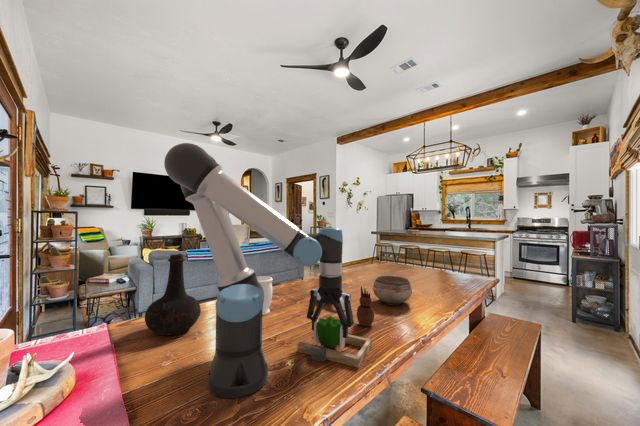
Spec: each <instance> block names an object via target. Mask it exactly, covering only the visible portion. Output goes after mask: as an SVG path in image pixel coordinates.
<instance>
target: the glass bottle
mask: <svg viewBox="0 0 640 426" xmlns="http://www.w3.org/2000/svg"><path fill="white" fill-rule="evenodd" d="M186 260H187V259H186V258H184V254H183V253H177V254H170V255H169V258H168V259H167V262H169V270H168V277H167V284H166V287H165V288H166V289H165V291H164V294H163V295H162V296H161V297H160V298H157V299H156V300H155V301H152V303H150V305H149V306H148V307H147V309H146V311H145V314H144V323H145V326H146V328H147V329H149V330H150V331H151V332H152V333H154V334H157V335H159V336H160V335H161V336H175V335H180V334H182V333H185V332H187V331H188V330H190V329H191V328H192V327H193V326H194V325H195V324H196V323H197V321H198V320H199V317H200V316H201V312H202V309H201V304H200V302H199V301H198V299H197V298H195V297H193V296H192V295H189V294H187V291H186V288H185V281H184V280H185V278H184V261H186Z"/></svg>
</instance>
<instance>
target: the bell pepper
mask: <svg viewBox="0 0 640 426" xmlns="http://www.w3.org/2000/svg"><path fill="white" fill-rule="evenodd" d="M318 320H319V321H318V324H317V335H318V339H319V340H318V342H319V343H320V346H322V347H326V348H328V349H335V348H337V347H338V345H339V344H340V342H339V341H340V327H341V326H342V324H341V322H340V319H339V318H335V317H334V316H333V315H331V314H330V315H329V316H328V317H326V318H318Z"/></svg>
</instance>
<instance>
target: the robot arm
mask: <svg viewBox="0 0 640 426" xmlns="http://www.w3.org/2000/svg"><path fill="white" fill-rule="evenodd" d="M163 162H164V163H163V165H164V166H163V167H164V169H165V171H166V173H167V174H166V175H168V177H169V179H171V180H172V181H173V182H174V183H176V184H178V185H179V186H180V189H181V191H182V194H183V197H184V199H185V201H187V202H189V203H190V204H192V205H193V207H194V210H195V213H196V216H197V218H198V221H199V224H200V226H201V229H202V232H203V235H204V238H205V240H206V243H207V245H208V248H209V251H210V253H211V254H210V255H211V256H212V259H213V262H214V265H215V267H216V270H217V273H218V276H219V280H218V283H217V288H218V291H219V292H218V294H217V296H216V301H215V350H214V351H215V353H214V356H213V359H212V362H211V366H210V369H209V370H208V372H207V373H208V374H207V378H206V379H207V380H206V382H207V383H206V387H207V390H208V389H209V390H208V391H209V392H210V393H211V394H212V395H213V394H214V396H215V395H216V396H215V397H218V396H219V398H222V397H223V399H237V398H243V397H247V396H249V395H251V394H253V393H256V392H258V391H259V390H260V389H262V388H263V387H264V386H265V385H266V383H267V381H268V378H269V367H268V364H267V361H266V359H265V358H266V357H265V355H264V351H263V347H262V346H263V344H262V343H263V341H262V340H263V315H262V313H263V302H264V291H263V288H262V286H261V285H260V283H259V282H258V280H257V277H256V276H257V274H256V272H255V270H254V269H253V268H250V267H249V266H248V265H247V261H246V258H245V255H244V254H243V250H242V248H241V245H240V242H239V240H238V237H237V236H238V235H237V234H236V231H235V228H234V225H233V223H232V220H231V217H230V215H229V214H231V215H232V216H233V217H235V218H237V219H238V220H239V221H241V222H242V223H243V224H245V225H246V226H248V227H249V228H250V229H252V230H253V231H255V232H256V233H257V234H259V235H260V236H262V237H263V238H264V239H266V240H268V241H269V242H271V243H272V244H273V245H275V246H276V247H278V248H279V249H280V250H282V255H283V256H284V257H285V258H292V259H294V260H295V261H296V263H297V264H299V265H301V266H303V267H312V266H314V265H316V264H317V263H319V266H318V267H319V269H318V273H319V276H318V289H316V288H315V287H314V288H313V289H311V290H310V291H309V294H310V297H309V298H310V299H309V303H308V308H307V314H306V319H308V320H309V319H310V321H311V330H312V331H313V343H317V342H319V339H318V335H317V324H318V321H319V318H320V317H319V316H320V314H321V312H322V310H323V308H324V306H325V304H330V305H332V306H333V308H334V309H335V311H336V315H337V316H338V319H340V322H341V324H342V326H341V327H340V342H339V349H341V350H342V349H343V348H344V347H345V346H346V343H345V338H346V337H347V336H348V334H349V328H352V326H354V324H355V322H354V316H353V310H352V303H351V298H352V295H351V293H345V292H343V290H342V288H343V276H342V274H343V246H344V245H343V244H344V239H343V230H342V228H340V227H327V226H326V227H321V228H320V229H319V233H318V232H317V233H307V232H305V231H304V230H302V229H301V228H299V227H298V226H297V225H296V224H294V223H293V222H291V221H290V220H289V219H287V218H286V217H285V216H283V215H282V214H281V213H279V212H278V211H276V209H274V208H272V207H271V206H269V205H268V204H267V203H266V202H265V201H263V200H262V199H260V198H259V197H257V196H256V195H255V194H253V193H252V192H250V191H249V190H248V189H246V188H245V187H244V186H242V185H241V184H240V183H238V182H237V181H236V180H234V179H233V178H231V176H229V175H228V174H227V173H224V171H223V166H222V165H220V163H218V162H217V161H216V159H215V158H214V157H213V156H211V155H210V154H209V153H208V151H206V150H205V149H204V148H203V147H201V146H199V145H197V144H195V143H189V142H183V143H179V144H176V145H174V146H172V147H171V148H170V149H168V151H167V153H166V155H165V157H164V161H163ZM318 293H319V295H320V297H321V299H320V301H318V304H317V306H316V303H317V295H318ZM341 297H343V300H344V306H345V310H344V311H343V308H342V306H341V301H340V298H341ZM315 308H316V309H315Z"/></svg>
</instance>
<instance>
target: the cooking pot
mask: <svg viewBox="0 0 640 426" xmlns="http://www.w3.org/2000/svg"><path fill="white" fill-rule="evenodd" d="M374 279H375V280H374V281H373V285H372V292H373V295H375V296H376V298H377V299H379V300H381V301H382V302H383V303H384V304H386V305H390V306H398V305H400V304H402V303H405V302H407V301H408V300H409V299H410V298H411V297H412V295H413V288H412V284H411V281H412V280H411V279H410V277H406V276H402V275H396V274H379V275H375V276H374Z"/></svg>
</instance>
